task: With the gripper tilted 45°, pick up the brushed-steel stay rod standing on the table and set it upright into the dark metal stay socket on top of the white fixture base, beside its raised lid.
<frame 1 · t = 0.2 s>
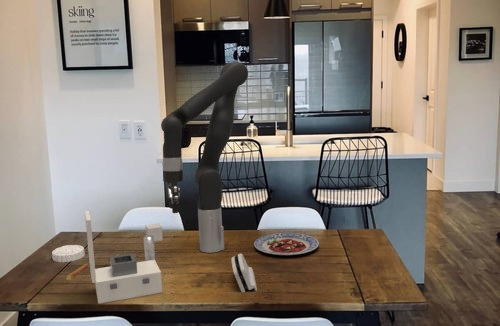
hand: (174, 210, 194), 18 cm above the table, tool pointing down, fingers open, 8 cm apart
adhesive note: (154, 239, 217), on the table
stay rod: (150, 268, 184), on the table
mooncake: (68, 257, 199), on the table
stay socket: (123, 271, 164), resting on white fixture base
white fixture base: (128, 290, 165), on the table
white rounded block: (243, 282, 169), on the table
ceramic plate: (286, 248, 202), on the table
chocolate bar: (78, 275, 182), on the table
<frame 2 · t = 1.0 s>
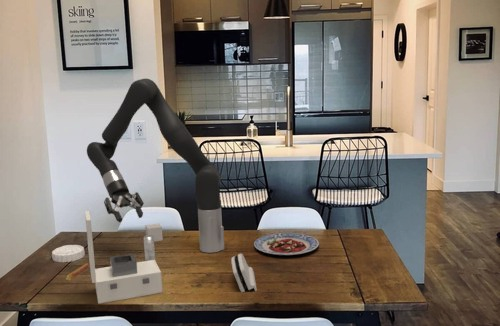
hand: (131, 219, 190), 16 cm above the table, tool tilted 45°, fingers open, 8 cm apart
nothing on the table moved.
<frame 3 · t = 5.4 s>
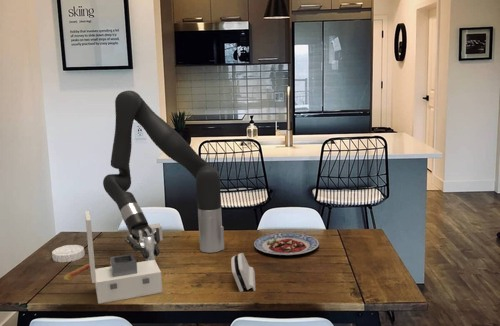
hand: (152, 256, 182), 5 cm above the table, tool tilted 45°, fingers closed on stay rod, 3 cm apart
stay rod: (150, 268, 184), on the table, touching gripper
everything else where it was.
when the fingers open (13 cm above the table, at t = 11.3 s): stay rod drops 1 cm, resting on white fixture base.
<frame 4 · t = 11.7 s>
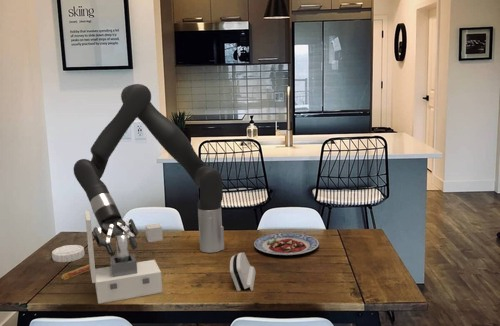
hand: (124, 251, 161), 14 cm above the table, tool tilted 45°, fingers open, 7 cm apart
stay rod: (123, 270, 164), point 7 cm above the table, touching white fixture base
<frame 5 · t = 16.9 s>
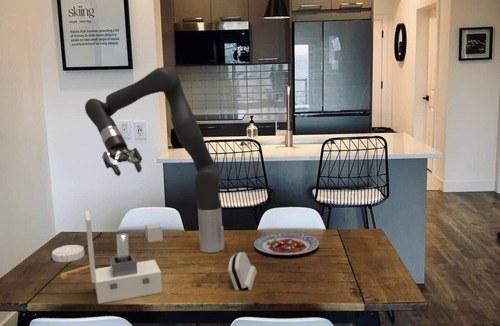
hand: (129, 172, 189), 34 cm above the table, tool tilted 45°, fingers open, 8 cm apart
at the end: stay rod 0.1 cm off-centre on the stay socket, point 0.1 cm above the stay socket's base; stay rod tilted 3°; the gripper is holding nothing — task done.
